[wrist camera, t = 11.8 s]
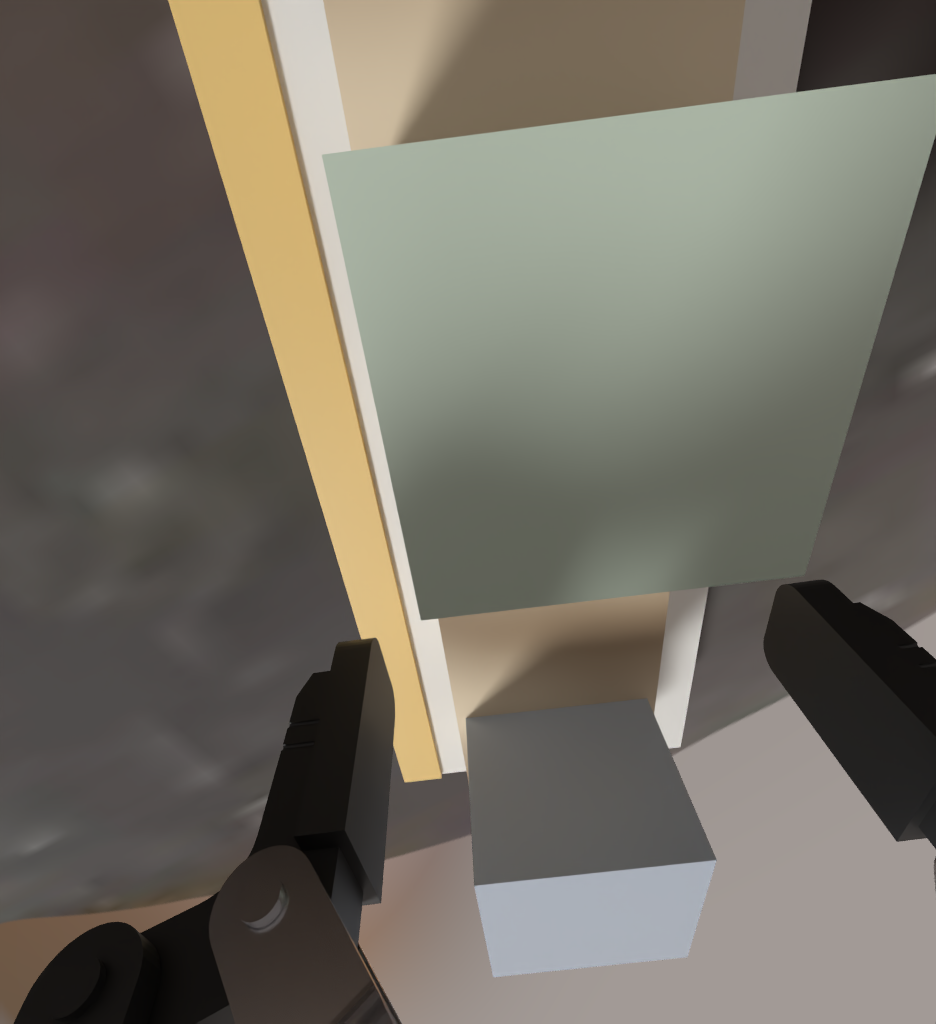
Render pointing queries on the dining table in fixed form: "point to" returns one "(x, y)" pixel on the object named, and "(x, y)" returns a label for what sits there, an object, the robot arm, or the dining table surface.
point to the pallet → (514, 105)
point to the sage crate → (626, 336)
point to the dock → (335, 334)
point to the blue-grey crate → (582, 839)
